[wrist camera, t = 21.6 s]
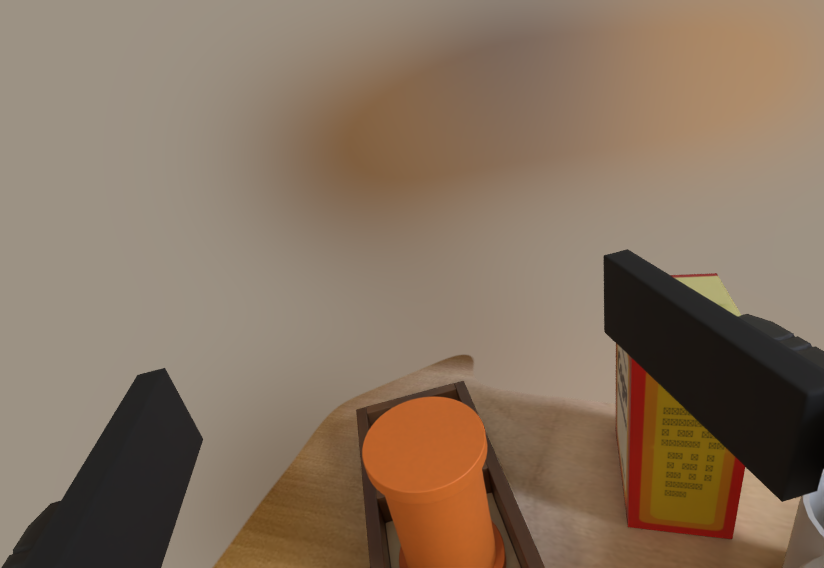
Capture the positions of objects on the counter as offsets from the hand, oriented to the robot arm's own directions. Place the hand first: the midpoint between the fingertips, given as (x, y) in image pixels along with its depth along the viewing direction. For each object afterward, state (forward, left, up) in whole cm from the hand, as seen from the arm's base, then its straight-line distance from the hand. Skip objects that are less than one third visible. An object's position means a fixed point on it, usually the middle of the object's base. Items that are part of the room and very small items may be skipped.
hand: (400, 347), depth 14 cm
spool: (0, +10, -25) cm, 27 cm away
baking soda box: (+18, +12, -26) cm, 34 cm away
